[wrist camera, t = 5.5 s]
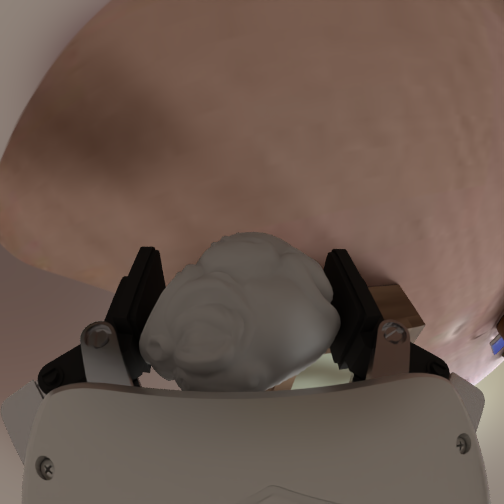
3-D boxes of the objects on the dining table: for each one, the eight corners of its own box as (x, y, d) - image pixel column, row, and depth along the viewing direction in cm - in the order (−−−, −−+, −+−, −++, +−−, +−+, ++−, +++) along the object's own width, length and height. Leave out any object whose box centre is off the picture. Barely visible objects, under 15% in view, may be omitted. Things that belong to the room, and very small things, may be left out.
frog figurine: (164, 192, 11) (101, 327, 5) (330, 205, 11) (407, 332, 6) (171, 300, 14) (151, 424, 8) (300, 305, 15) (328, 423, 9)
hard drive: (492, 346, 38) (494, 355, 43) (516, 321, 35) (515, 334, 40) (488, 341, 39) (492, 351, 44) (512, 316, 36) (512, 330, 41)
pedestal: (273, 292, 21) (285, 345, 17) (398, 284, 22) (425, 324, 18) (260, 376, 28) (266, 416, 24) (356, 364, 30) (369, 398, 25)
